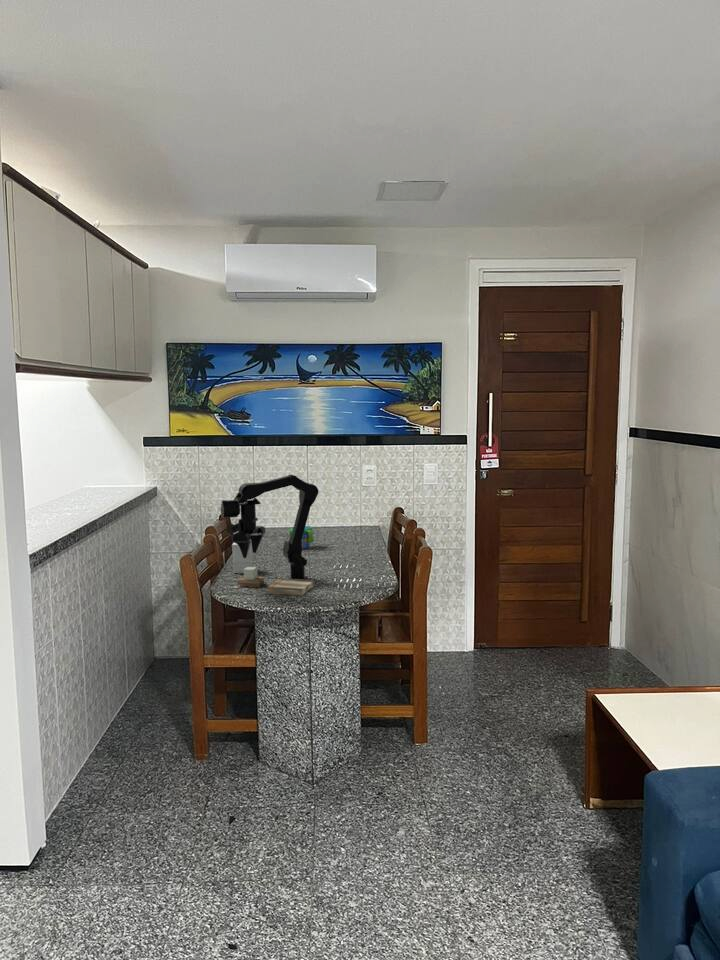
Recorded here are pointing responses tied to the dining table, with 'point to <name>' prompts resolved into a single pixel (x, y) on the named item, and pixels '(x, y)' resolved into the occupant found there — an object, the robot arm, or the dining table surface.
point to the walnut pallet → (251, 582)
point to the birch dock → (290, 586)
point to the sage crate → (250, 573)
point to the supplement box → (241, 559)
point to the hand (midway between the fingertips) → (249, 555)
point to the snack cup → (305, 537)
